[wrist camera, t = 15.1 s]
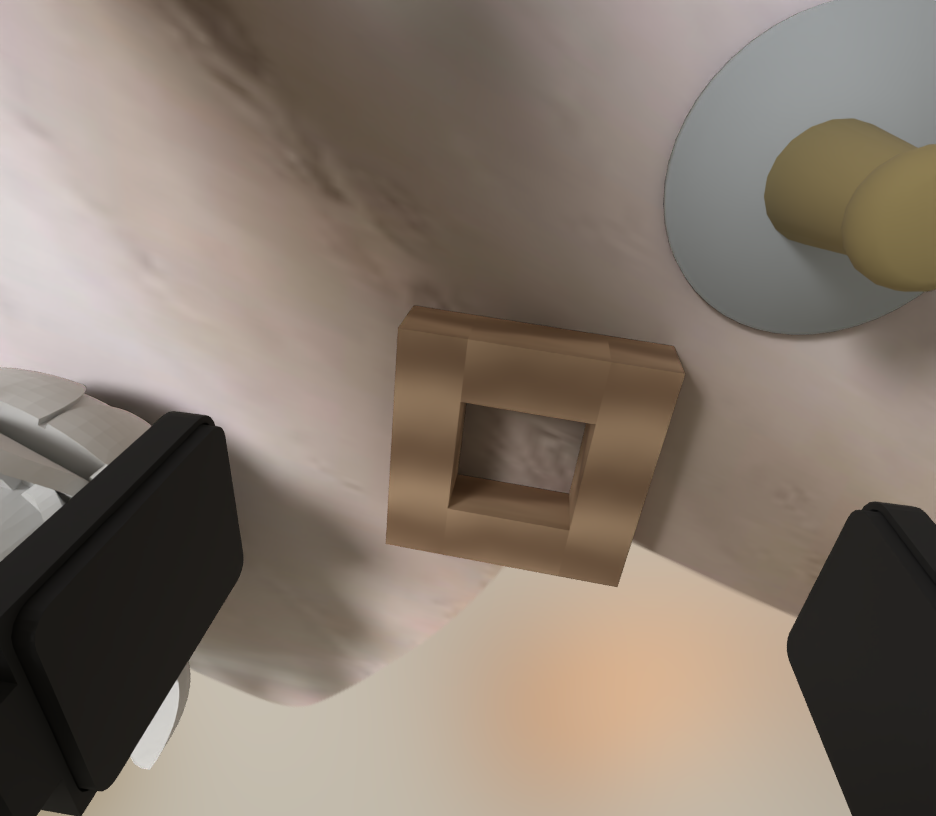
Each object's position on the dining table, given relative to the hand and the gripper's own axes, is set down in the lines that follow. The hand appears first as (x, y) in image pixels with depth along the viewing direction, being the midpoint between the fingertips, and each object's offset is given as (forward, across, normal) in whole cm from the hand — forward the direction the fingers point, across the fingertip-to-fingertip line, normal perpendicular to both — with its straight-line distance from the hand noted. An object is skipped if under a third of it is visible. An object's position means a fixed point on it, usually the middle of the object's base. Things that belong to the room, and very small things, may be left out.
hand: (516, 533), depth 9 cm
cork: (+27, -14, -2) cm, 30 cm away
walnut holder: (+27, -1, +15) cm, 31 cm away
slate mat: (+27, -14, -2) cm, 31 cm away
